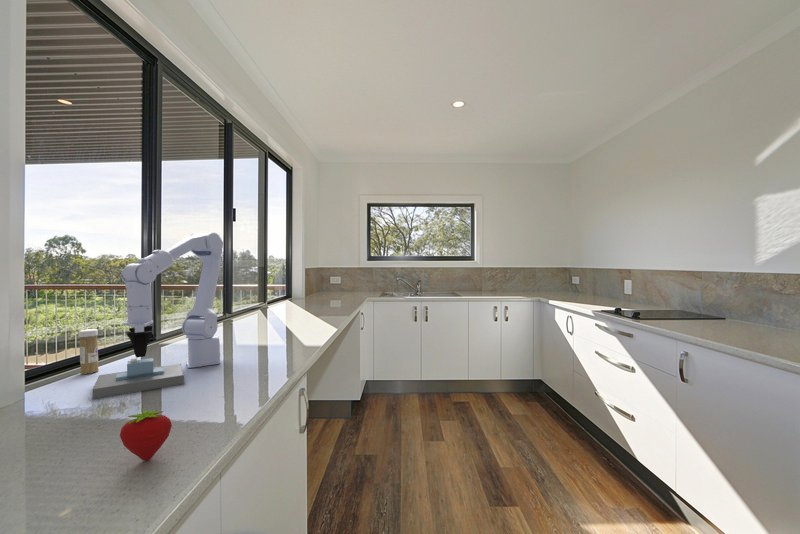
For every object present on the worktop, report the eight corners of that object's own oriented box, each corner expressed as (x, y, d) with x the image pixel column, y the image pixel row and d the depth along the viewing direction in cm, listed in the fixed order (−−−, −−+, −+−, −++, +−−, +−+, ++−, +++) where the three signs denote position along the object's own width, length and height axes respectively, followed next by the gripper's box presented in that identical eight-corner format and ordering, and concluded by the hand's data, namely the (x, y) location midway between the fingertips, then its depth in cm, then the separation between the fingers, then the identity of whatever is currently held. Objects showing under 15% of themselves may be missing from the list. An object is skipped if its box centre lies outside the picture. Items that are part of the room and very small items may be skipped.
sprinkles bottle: (97, 372, 116) (96, 330, 116) (78, 375, 114) (77, 331, 113) (99, 369, 120) (98, 327, 120) (81, 371, 118) (79, 329, 117)
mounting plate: (181, 371, 117) (180, 363, 117) (184, 383, 105) (183, 374, 105) (99, 383, 106) (99, 375, 106) (92, 399, 94) (92, 389, 94)
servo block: (164, 378, 110) (163, 353, 110) (164, 382, 107) (163, 356, 107) (117, 385, 104) (116, 359, 104) (116, 389, 101) (115, 363, 100)
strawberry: (169, 464, 63) (167, 406, 63) (115, 474, 61) (113, 413, 60) (175, 448, 69) (174, 394, 69) (126, 456, 66) (124, 400, 66)
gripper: (123, 304, 109) (125, 350, 109) (119, 309, 97) (121, 361, 97) (152, 302, 113) (154, 347, 113) (152, 307, 101) (154, 357, 101)
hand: (141, 353), depth 105 cm, fingers open, 7 cm apart
